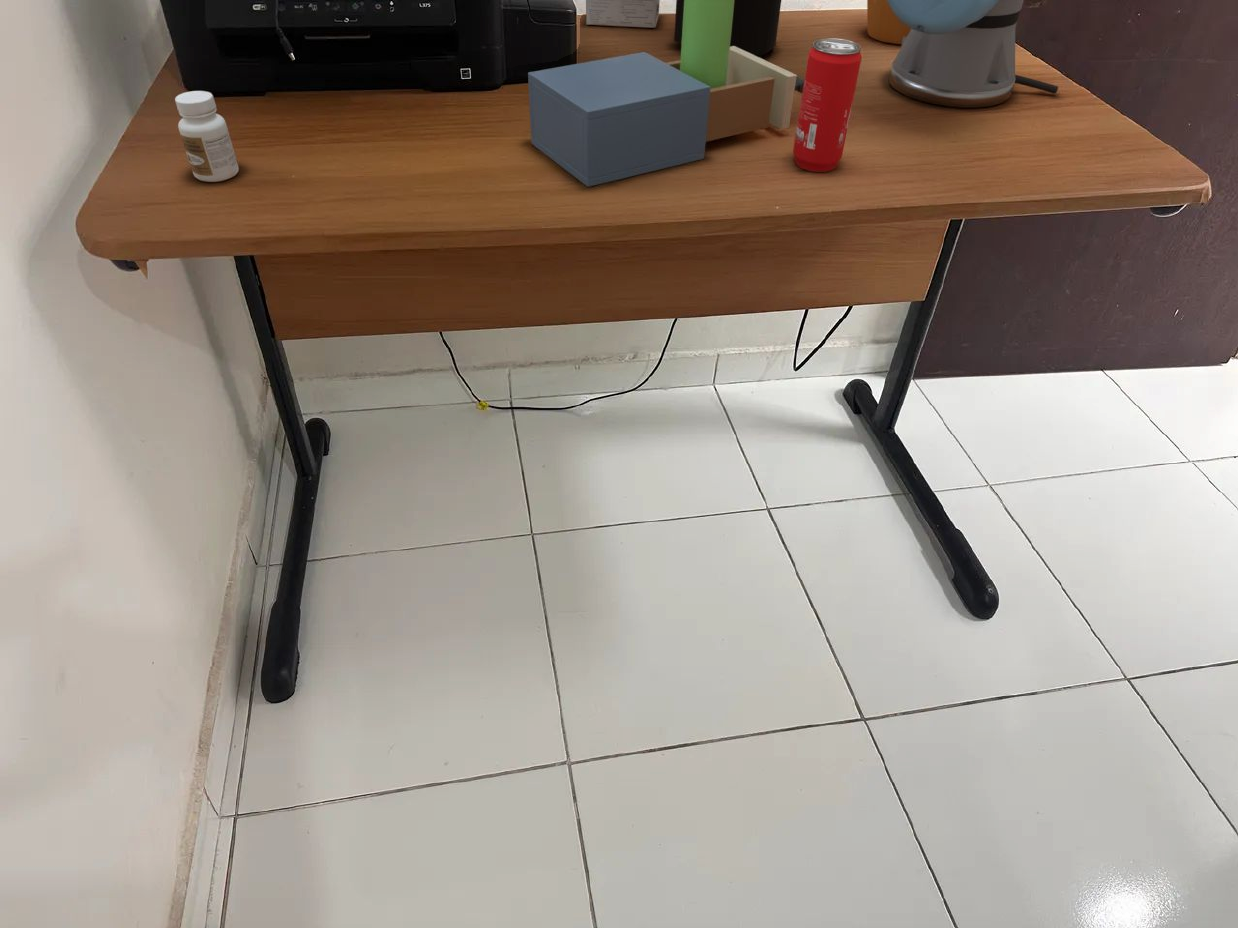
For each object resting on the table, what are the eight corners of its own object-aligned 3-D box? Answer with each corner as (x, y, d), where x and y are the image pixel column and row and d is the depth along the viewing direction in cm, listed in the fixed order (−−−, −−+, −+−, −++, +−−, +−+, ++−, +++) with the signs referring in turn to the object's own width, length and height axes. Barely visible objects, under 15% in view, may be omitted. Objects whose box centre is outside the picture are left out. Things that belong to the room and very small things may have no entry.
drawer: (756, 90, 107) (762, 40, 103) (817, 121, 100) (826, 68, 96) (635, 116, 100) (637, 63, 96) (692, 151, 93) (696, 96, 89)
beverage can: (792, 152, 96) (810, 35, 88) (839, 156, 95) (862, 39, 87) (790, 171, 92) (810, 52, 84) (840, 176, 91) (864, 56, 83)
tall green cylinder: (727, 110, 99) (742, -38, 89) (717, 126, 96) (731, -26, 85) (683, 104, 100) (693, -43, 90) (671, 120, 97) (681, -31, 87)
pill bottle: (186, 174, 89) (160, 96, 83) (225, 161, 91) (203, 85, 86) (207, 187, 86) (182, 108, 81) (247, 174, 89) (226, 96, 84)
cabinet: (642, 120, 102) (644, 51, 97) (704, 159, 94) (710, 86, 89) (531, 144, 96) (527, 72, 91) (587, 187, 88) (587, 112, 83)
